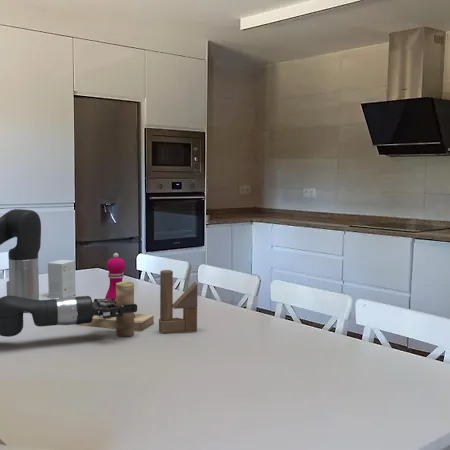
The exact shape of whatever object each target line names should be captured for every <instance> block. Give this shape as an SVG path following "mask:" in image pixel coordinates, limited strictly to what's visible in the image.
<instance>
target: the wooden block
mask: <svg viewBox="0 0 450 450" xmlns="http://www.w3.org/2000/svg"><path fill="white" fill-rule="evenodd" d="M159 275H160V276H159V277H160V280H159V281H160V284H159V285H160V287H159V290H160V291H159V293H160V299H159V303H160V305H159V308H160V310H159V313H160V314H159V315H160V316H159V319H158V331H159V333H160V334H175V333H176V334H177V333H193V332H194V333H195V332H197V331H198V283H197V282H196V281H194V282H193V283H191V285H190V286H189V287H188V288H187V289H186V290H185V291H184V292H183V293H182V294H181V295H180V296H179V297H178V298H177V299H176V300H175V302H174V301H173V297H174V296H173V294H174V293H173V290H174V289H173V288H174V287H173V286H174V284H173V283H174V272H173V270H171V269H162V270H161V271H160V274H159ZM176 309H177V310H178V309H182V312H183V313H182V318H181V317H180V318H179V317H173V313H174V312H173V310H176Z"/></svg>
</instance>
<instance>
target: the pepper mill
mask: <svg viewBox="0 0 450 450" xmlns="http://www.w3.org/2000/svg"><path fill="white" fill-rule="evenodd" d="M106 270H107V271H108V273H107V275H108V278H109V286H108V290H107V292H106V295H105V297H104V299H112V298H114V299H115V300H116V283H118V282H123V278H124V277H125V275H124V274H125V272H124V270H126V261H124V259H123V258H120V257H119V253H118V252H115V253H113V254H112V257H111V258H110V259H108V260H107V262H106ZM107 303H108V302H107Z"/></svg>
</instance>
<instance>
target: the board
mask: <svg viewBox="0 0 450 450" xmlns="http://www.w3.org/2000/svg"><path fill="white" fill-rule="evenodd" d="M134 314H135V318H134V332H135V331H136V332H142V331H144V330H146V329H147V328H148V327H150V326H152V325H153V324H154V323H155V321H154V320H155V317H154V316H155V315H154V314H145V313H144V314H143V313H136V312H134ZM92 318H93V319H92V322H91V323H85V324H77V325H76V326H84V327H85V326H89V327H94V328H95V327H98V328H108V329H115V330H116V317H112V318H106V319H104V318H103V317H99V316H93V317H92Z"/></svg>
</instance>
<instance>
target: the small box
mask: <svg viewBox="0 0 450 450" xmlns="http://www.w3.org/2000/svg"><path fill="white" fill-rule="evenodd" d="M47 278H48V279H47V280H48V283H47V284H48V285H47V286H48V298H49V297H50V298H49V299H54V298H59V299H60V298H65V297H74V296H76V294H77V293H76V260H72V259H57V260H55V261H54V260H53V261H50V262H47Z"/></svg>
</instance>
